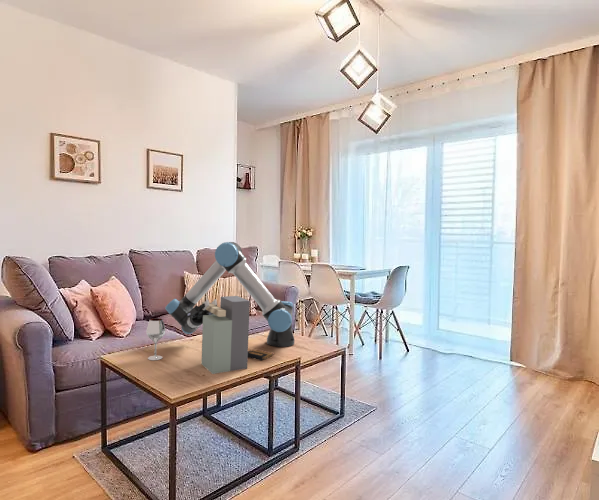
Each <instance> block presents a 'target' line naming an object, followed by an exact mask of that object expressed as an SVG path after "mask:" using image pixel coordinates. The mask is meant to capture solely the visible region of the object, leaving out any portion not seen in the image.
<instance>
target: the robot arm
mask: <svg viewBox="0 0 599 500" xmlns="http://www.w3.org/2000/svg"><path fill="white" fill-rule="evenodd" d="M214 259H215V261H214V262H213V263H212V265H211V266H210V267H209V268H208V269H207V270H206V271H205V272H204V274H203V275H201V277H200V278H199V279H198V280H197V281H196V282H195V284H194V285H193V286H192V287H191V288H190V289H189V290H188V292H186V293H185V295H184V296H183V297H182V298H181V299H180V300H178V299H177V298H173V299H172V300H170V301H169V302H168V304H166V306H165V310H166V312H167V313H168V314H169V315H170V316H171V317H172V318H173V319H174V320H175V321H176V322H177V323H178V324H179V325H180V326H181V330H182V332H183V333H184V334H187V335H191V334H193V333H194V332H196V331H197V330H198V329H199V328H200V327H201V325H202V326H203V315H215V314H213V313H211V312H209V311H207V310H206V308H207V307H208V306H209V302H210V301H209V299H206V300H205V301H203V302H204V303H203V304H202V303H201V304H200V305H197V304H198V302H199V301H200V300H201V299H202V298H203V297H204V296H205V294H207V292H208V291H209V290H210V289H211V288H212V287H213V285H215V283H216V282H217V281H218V280H219V279H220V278H221V276H223V274H225V272H227V273H228V274H233V276H234V277H235V278H236V279H237V281H238V282H239V283H240V284H241V285H242V286H243V288H244V289H245V290H246V291H247V293H248V294H249V295H250V297H251V298H252V299H253V300H254V302H255V303H256V304H257V305H258V306H259V308H260V309H261V310H262V312H261V314H262V316H263V317H264V319H265V320H266V321H267V323H268V326H269V329H270V330H269V332H268V334H267V338H266V345H269V346H272V347H279V348H285V347H287V348H288V347H291V346H294V345H295V337H294V333H293V330H292V329H293V308H294V303H293V302H292V301H285V300H283V301H282V300H281V299H276V298H275V296H273V294H272V293H271V292H270V290H269V289H268V288H267V287H266V285H265V284H264V282H262V280H261V279H260V278H259V277H258V276H257V274H256V273H255V272H254V270H253V269H252V268H251V267H250V266H249V264H248V263H247V257H246V256H245V255H244V253H243V250H242V248H241V245H239V244H238V243H236V242H234V241H226V242H222V243H220V244H219V245H218V246H217V247H216V249H215V252H214ZM211 303H212V304H214V305H216V306H218V300H217V298H215V299H213V301H212V302H211Z"/></svg>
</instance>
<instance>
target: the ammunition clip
mask: <svg viewBox="0 0 599 500" xmlns="http://www.w3.org/2000/svg"><path fill="white" fill-rule="evenodd" d="M274 354H275V352H271V351H267V350H263V349H253V350H248V358H249V359H253V360H257V361H264V360H267V359H268V358H270V357H272V356H273V355H274Z"/></svg>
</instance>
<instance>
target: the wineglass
mask: <svg viewBox="0 0 599 500" xmlns="http://www.w3.org/2000/svg"><path fill="white" fill-rule="evenodd" d="M146 335H147V337H148V339H150V340H152V342H153V343H154V352H153V353H154V355H150V356H149V357H147V360H149V361H159V360H162V359H163V356H162V355H157V345H158V342H159V340H161V339H162V338H163V337H164V336H165V335H166V327H165V323H164V319H163V318H160V317H159V318H157V317H155V318H154V317H153V318H150V319H149V321H148V325H147V327H146Z"/></svg>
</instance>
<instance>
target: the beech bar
mask: <svg viewBox="0 0 599 500" xmlns="http://www.w3.org/2000/svg"><path fill="white" fill-rule="evenodd" d="M204 302H205V301H202V302H201V305H202V304H203V303H204ZM206 310H207V311H209V312H211V313H213V314H214V315H217V316H218V317H224V316H226V310H224V309H222V308H220V306H218V305H217V306H216V305H214V304H212V302H210V301H209V306H208V307H207V308H206Z"/></svg>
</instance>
